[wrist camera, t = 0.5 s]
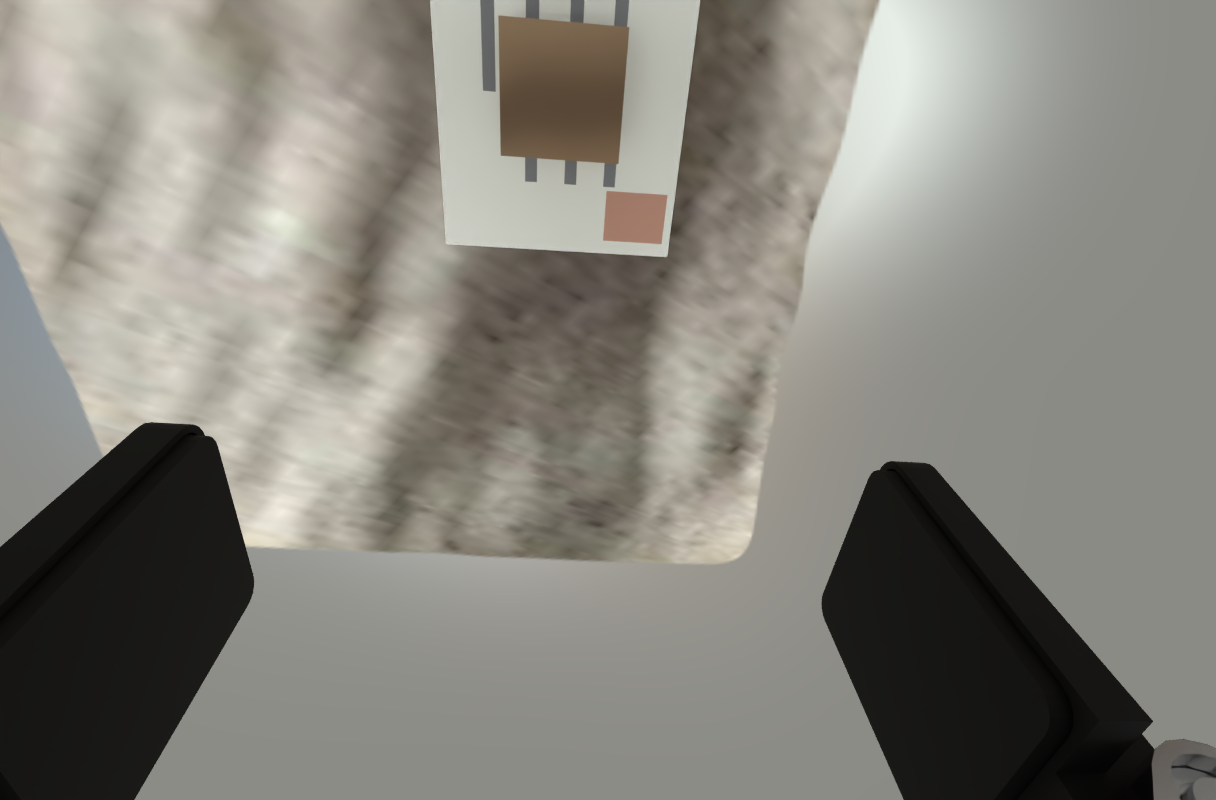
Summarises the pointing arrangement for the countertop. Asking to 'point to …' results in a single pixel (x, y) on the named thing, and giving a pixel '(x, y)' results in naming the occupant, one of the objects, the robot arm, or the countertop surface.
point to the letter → (560, 189)
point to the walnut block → (561, 89)
